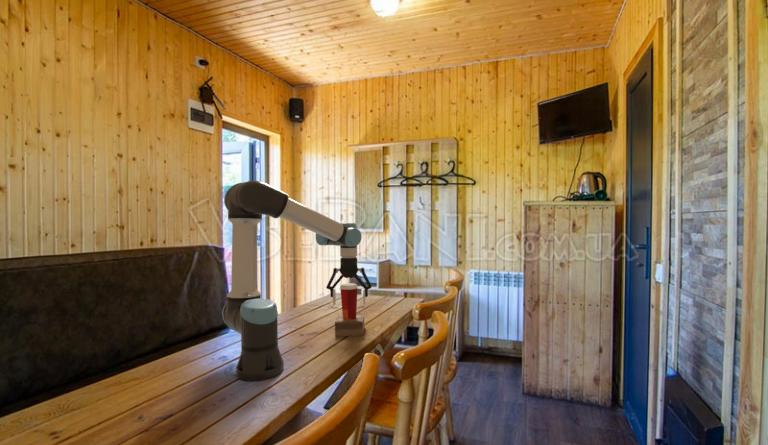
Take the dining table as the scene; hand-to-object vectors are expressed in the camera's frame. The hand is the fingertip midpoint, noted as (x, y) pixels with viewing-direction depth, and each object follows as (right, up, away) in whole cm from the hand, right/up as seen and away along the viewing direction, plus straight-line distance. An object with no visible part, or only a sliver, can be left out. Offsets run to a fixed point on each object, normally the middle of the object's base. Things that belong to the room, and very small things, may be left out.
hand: (349, 304), depth 164 cm
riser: (0, -12, 0) cm, 12 cm away
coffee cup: (0, -6, 0) cm, 6 cm away
